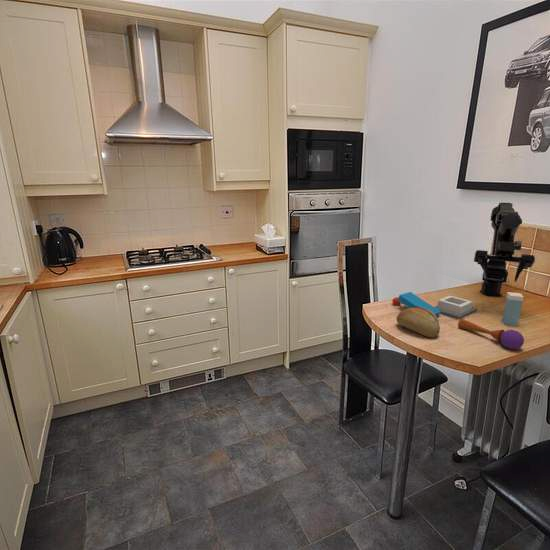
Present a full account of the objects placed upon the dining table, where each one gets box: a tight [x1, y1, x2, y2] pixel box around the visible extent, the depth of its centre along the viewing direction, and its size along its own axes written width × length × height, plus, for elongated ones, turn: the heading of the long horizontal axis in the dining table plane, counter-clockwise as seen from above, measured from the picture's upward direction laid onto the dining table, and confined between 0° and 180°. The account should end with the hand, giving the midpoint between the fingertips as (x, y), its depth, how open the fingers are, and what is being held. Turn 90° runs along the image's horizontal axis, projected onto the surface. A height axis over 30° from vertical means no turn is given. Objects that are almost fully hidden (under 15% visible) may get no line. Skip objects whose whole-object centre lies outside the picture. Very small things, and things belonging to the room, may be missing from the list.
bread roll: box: [396, 306, 441, 338], centre depth 122 cm, size 10×15×8 cm, turn 40°
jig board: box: [433, 295, 478, 320], centre depth 140 cm, size 14×11×4 cm
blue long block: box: [391, 291, 441, 318], centre depth 140 cm, size 7×7×18 cm
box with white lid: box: [501, 291, 525, 327], centre depth 128 cm, size 4×4×11 cm
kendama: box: [457, 318, 525, 350], centre depth 117 cm, size 6×6×20 cm
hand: (500, 279), depth 133 cm, fingers open, 9 cm apart
